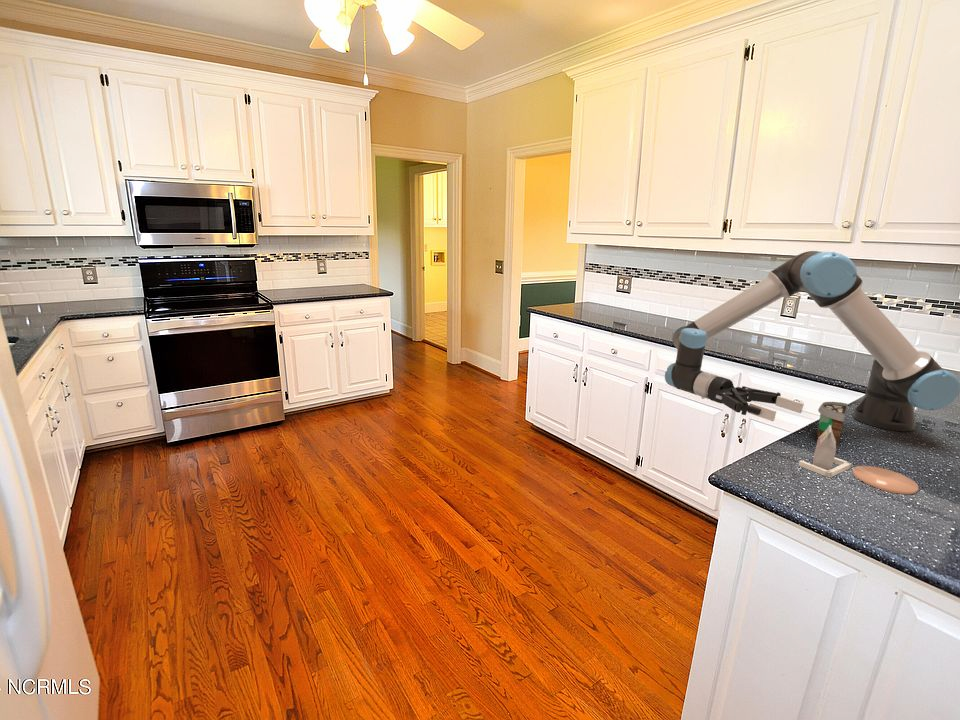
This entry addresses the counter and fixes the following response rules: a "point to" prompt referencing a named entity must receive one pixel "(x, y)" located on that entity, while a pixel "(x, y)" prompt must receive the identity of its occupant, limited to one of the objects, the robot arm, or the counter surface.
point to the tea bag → (825, 450)
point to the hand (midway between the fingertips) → (788, 412)
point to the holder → (828, 473)
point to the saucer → (885, 480)
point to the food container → (832, 418)
